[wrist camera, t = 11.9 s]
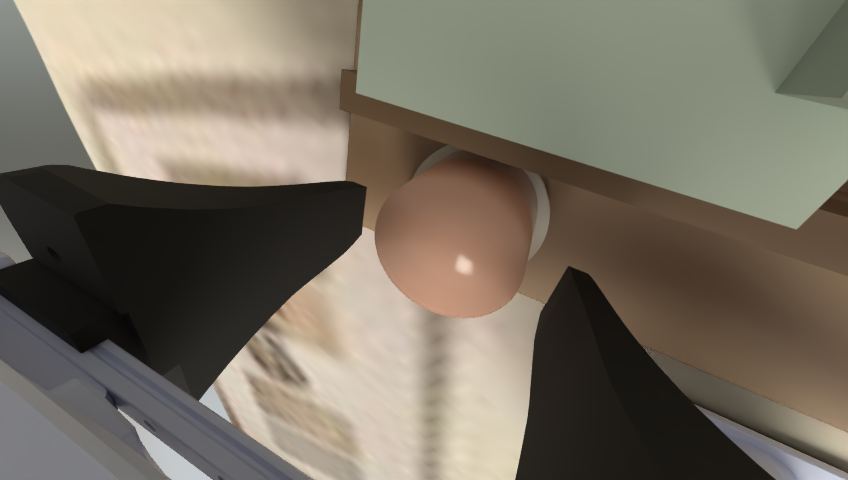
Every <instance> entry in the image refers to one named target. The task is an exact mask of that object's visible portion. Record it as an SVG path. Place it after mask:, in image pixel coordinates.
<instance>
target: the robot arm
mask: <svg viewBox="0 0 848 480" xmlns="http://www.w3.org/2000/svg"><path fill="white" fill-rule="evenodd" d="M366 191H367V187H366V186H363V185H361V184H358V183H356V182H353V181H333V182H320V183H308V184H296V185H280V186H260V187H232V186H211V185H197V184H183V183H174V182H165V181H157V180H150V179H143V178H136V177H129V176H123V175H118V174H112V173H107V172H101V171H96V170H90V169H85V168H80V167H75V166H70V165H45V166H39V167H34V168H28V169H23V170H17V171H12V172H6V173H0V205H1V206H2V208H3V210H4V212H5V214H6V215H7V217H8V219H9V220H10V222H11V223H12V225H13V227H14V228H15V230H16V231H17V233H18V235H19V237H20V238H21V240H22V242H23V243H24V244H25V246H26V248H27V250H28V251H29V253H30V255H31V256H32V257H33V259H30V260H27V261H24V262H21V263H18V264H16V263H15V262H14V261H13V260H12V259H11V257H10V256H8V255H7V254H6V253H5V252H3V251H2V250H0V480H171V479H170V478H169V477H167V476H166V475H165V474H164V473H163V471H162V470H161V469H160V468H159V466H158V465H157V464H156V462H155V461H154V460H153V459H152V457H151V456H150V455H149V453H148V451H147V450H146V448H145V447H144V446H143V444H142V442H141V441H140V439H139V436H138V434H137V432H136V429H135V427H134V426H133V425H132V424H131V423H130V422H129V421H128V420H127V419H126V418H125V417H124V416H123V415H122V414H121V413H120V412H119V411H118V408H119V409H120V410H121V411H123V412H124V413H125V414H127V415H128V416H129V417H131V418H132V419H133V420H135V421H136V422H137V423H139V424H140V425H141V426H143V427H144V428H145V429H146V430H148V431H149V432H150V433H152V434H153V435H155V436H156V437H157V438H158V439H160V440H161V441H162V442H164V443H165V444H166V445H168V446H169V447H170V448H172V449H173V450H174V451H176V452H177V453H178V454H180V455H181V456H182V457H184V458H185V459H186V460H188V461H189V462H190V463H191V464H193V465H194V466H195V467H197V468H198V469H199V470H201V471H202V472H203V473H205V474H206V475H207V476H209V477H210V478H211V479H213V480H313V479H311V478H310V477H308V476H307V475H305V474H304V473H303V472H301V471H300V470H298V469H297V468H295V467H294V466H292V465H291V464H289V463H288V462H286V461H285V460H284V459H282V458H281V457H279V456H278V455H276V454H275V453H273V452H272V451H270V450H269V449H268V448H266V447H265V446H263V445H262V444H260V443H259V442H257V441H256V440H254V439H253V438H251V437H250V436H249V435H247V434H246V433H244V432H243V431H241V430H240V429H238V428H237V427H235V426H234V425H233V424H231V423H229V422H228V421H227V420H225V419H224V418H222V417H221V416H219V415H218V414H216V413H215V412H214V411H212V410H211V409H209V408H208V407H206V406H205V405H203V404H202V403H200V402H199V400H200V399H201V397H202V396H203V395H204V393H205V392H206V391H207V390H208V388H209V387H210V386H211V385H212V384H213V382H214V381H215V380H216V379H217V377H218V376H219V375H220V374H221V372H222V371H223V370H224V369H225V368H226V366H227V365H228V364H229V363H230V362H231V360H232V359H233V358H234V357H235V356H236V355H237V354H238V352H239V351H240V350H241V349H242V348H243V347H244V346H245V344H246V343H247V342H248V341H249V340H250V339H251V338H252V337H253V335H254V334H255V333H256V332H257V331H258V330H259V329H260V328H261V327H262V326H263V325H264V324H265V323H266V322H267V321H268V319H269V318H270V317H271V316H272V315H273V314H274V313H275V312H276V311H277V310H278V309H279V308H280V307H281V306H282V305H283V304H284V303H285V302H286V301H287V300H288V299H289V298H290V297H291V296H292V295H294V294H295V293H296V292H297V291H298V290H299V289H300V288H302V287H303V286H304V285H305V284H307V283H308V282H309V281H310V280H312V279H313V278H314V277H315V276H317V275H318V274H319V273H320V272H322V271H323V270H324V269H325V268H327V267H328V266H329V265H330V264H332V263H333V262H334V261H335V260H337V259H338V258H339V257H340V256H341V255H343V254H344V253H345V252H346V251H347V250H348V249H349V248H350V247H351V246H352V245H353V244H354V242H355V241H356V240H357V239H358V238H359V237H360V236H361V234H362V226H363V218H364V209H365V200H366ZM515 480H848V473H846V472H844V471H842V470H839V469H837V468H835V467H833V466H830V465H828V464H826V463H824V462H822V461H819V460H817V459H815V458H813V457H810V456H808V455H806V454H804V453H802V452H799V451H797V450H795V449H793V448H790V447H788V446H786V445H784V444H782V443H779V442H777V441H775V440H773V439H771V438H768V437H766V436H764V435H762V434H759V433H757V432H755V431H753V430H751V429H748V428H746V427H744V426H742V425H739V424H737V423H735V422H733V421H731V420H728V419H726V418H724V417H722V416H719V415H717V414H715V413H713V412H711V411H708V410H706V409H704V408H702V407H700V406H697V405H695V404H693V403H692V402H691V401H690V400H689V399H688V398H687V397H686V396H685V395H684V394H683V393H682V392H681V390H680V389H679V388H678V387H677V386H676V385H675V384H674V383H673V382H672V381H671V380H670V378H669V377H668V376H667V375H666V374H665V373H664V372H663V371H662V370H661V369H660V368H659V366H658V365H657V364H656V363H655V362H654V361H653V359H652V358H651V357H650V356H649V355H648V354H647V352H646V351H645V350H644V349H643V347H642V346H641V345H640V343H639V342H638V341H637V340H636V338H635V337H634V336H633V335H632V333H631V332H630V331H629V329H628V328H627V327H626V325H625V324H624V323H623V321H622V320H621V318H620V317H619V316H618V314H617V313H616V311H615V310H614V309H613V307H612V306H611V304H610V303H609V301H608V300H607V298H606V297H605V295H604V294H603V292H602V291H601V290H600V288H599V287H598V285H597V284H596V282H595V281H594V280H593V278H592V277H591V276H590V275H589V274H588V273H585V272H583V271H580V270H578V269H575V268H573V267H570V266H568V267H567V269H566V270H565V272H564V274H563V276H562V277H561V279H560V281H559V282H558V284H557V286H556V287H555V289H554V291H553V292H552V294H551V296H550V297H549V299H548V301H547V303H546V304H545V306H544V308H543V309H542V311H541V313H540V317H539V321H538V325H537V330H536V334H535V339H534V350H533V362H532V375H531V388H530V401H529V410H528V418H527V424H526V429H525V434H524V440H523V445H522V450H521V455H520V460H519V465H518V469H517V474H516V479H515Z"/></svg>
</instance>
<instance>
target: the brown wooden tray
mask: <svg viewBox="0 0 848 480" xmlns="http://www.w3.org/2000/svg"><path fill="white" fill-rule="evenodd" d="M362 6H363V0H359V4H358V18H357V32H356V46H355V60H354V70H344V69H342V74H341V93H340V109H341V110H344V111H347V112H350V113H351V116H350V130H349V144H348V158H347V173H346V181H353V182H356V183H358V184H361V185H363V186H366V187H367V191H366V200H365V209H364V218H363V226H364V227H366V228H368V229H371V230H373V231H375V226H376V220H377V217H378V214H379V211H380V209H381V207H382V205H383V204H384V203H385V201H386V200H387V198H388V197H389V196H390V195H391V194H392V193H393V192H394V191H396V190H397V189H399V188H400V187H401V186H403V185H404V184H406V183H407V182H409V181H410V180H412V179H413V178H415V177H416V176H418V175H419V174H421V173H422V172H424V171H425V170H427V169H428V168H430V167H431V166H433V165H434V164H436V163H437V162H439V161H440V160H442V159H443V158H445V157H446V156H448V155H450V154H452V153H454V152H457V151H460V150H465V151H468V152H471V153H475V154H478V155H481V156H484V157H487V158H490V159H493V160H496V161H499V162H502V163H505V164H508V165H511V166H514V167H517V168H520V169H523V170H524V171H525V173H526V174H527V175H528V177H529V178H530V180H531V182H532V184H533V186H534V188H535V192H536V195H537V202H538V214H537V219H536V224H535V229H534V233H533V238H532V243H531V247H530V252H529V256H528V261H527V265H526V270H525V275H524V278H523V281H522V284H521V286H520V288H519V289H518V291H517V292H519V293H521V294H523V295H526V296H528V297H530V298H533V299H535V300H538V301H540V302H542V303H545V304H546V303H547V301H548V299H549V297H550V296H551V294H552V292H553V291H554V289H555V287H556V286H557V284H558V282H559V281H560V279H561V277H562V276H563V274H564V272H565V270H566V269H567V267H568V266H570V267H573V268H575V269H578V270H580V271H583V272H585V273H588V274H589V275H590V276H591V277H592V278H593V280H594V281H595V282H596V284H597V285H598V287H599V288H600V290H601V291H602V292H603V294H604V295H605V297H606V298H607V300H608V301H609V303H610V304H611V306H612V307H613V309H614V310H615V311H616V313H617V314H618V316H619V317H620V318H621V320H622V321H623V323H624V324H625V325H626V327H627V328H628V329H629V331H630V332H631V333H632V335H633V336H634V337H635V338H636V340H637V341H638V342H639V343H640V344H641V345H643V346H646V347H648V348H650V349H653V350H655V351H657V352H660V353H662V354H664V355H667V356H669V357H671V358H674V359H676V360H679V361H681V362H683V363H686V364H688V365H690V366H693V367H695V368H697V369H700V370H702V371H704V372H707V373H709V374H711V375H714V376H716V377H718V378H721V379H723V380H726V381H728V382H730V383H733V384H735V385H737V386H740V387H742V388H744V389H747V390H749V391H751V392H754V393H756V394H758V395H761V396H763V397H765V398H768V399H770V400H773V401H775V402H777V403H780V404H782V405H784V406H787V407H789V408H791V409H794V410H796V411H798V412H801V413H803V414H805V415H808V416H810V417H812V418H815V419H817V420H820V421H822V422H824V423H827V424H829V425H831V426H834V427H836V428H838V429H841V430H843V431H845V432H848V180H847V181H846V182H845V183H844V184H843V185H842V186H841V187H840V188H839V189H838V190H837V191H836V192H835V193H834V194H833V195H832V196H831V197H830V198H829V199H827V200H826V201H825V202H824V203H823V204H822V205H821V206H820V207H819V208H818V209H817V210H816V211H815V212H814V213H813V214H812V215H811V216H810V217H809V218H808V219H807V220H806V221H805V222H804V223H803V224H802V225H801V226H800V227H799V228H798V229H793V228H790V227H787V226H784V225H780V224H777V223H774V222H771V221H767V220H764V219H761V218H758V217H755V216H751V215H748V214H745V213H742V212H738V211H735V210H732V209H729V208H726V207H722V206H719V205H716V204H713V203H709V202H706V201H703V200H700V199H696V198H693V197H690V196H687V195H684V194H680V193H677V192H674V191H671V190H667V189H664V188H661V187H658V186H655V185H651V184H648V183H645V182H642V181H638V180H635V179H632V178H629V177H625V176H622V175H619V174H616V173H613V172H609V171H606V170H603V169H600V168H596V167H593V166H590V165H587V164H584V163H580V162H577V161H574V160H571V159H567V158H564V157H561V156H558V155H554V154H551V153H548V152H545V151H542V150H538V149H535V148H532V147H529V146H525V145H522V144H519V143H516V142H513V141H509V140H506V139H503V138H500V137H496V136H493V135H490V134H487V133H483V132H480V131H477V130H474V129H471V128H467V127H464V126H461V125H458V124H454V123H451V122H448V121H445V120H442V119H438V118H435V117H432V116H429V115H425V114H422V113H419V112H416V111H413V110H409V109H406V108H403V107H400V106H396V105H393V104H390V103H387V102H383V101H380V100H377V99H374V98H371V97H367V96H364V95H361V94H358V93H356V83H357V70H358V57H359V45H360V32H361V19H362Z"/></svg>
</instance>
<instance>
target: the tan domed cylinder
mask: <svg viewBox="0 0 848 480" xmlns="http://www.w3.org/2000/svg"><path fill="white" fill-rule="evenodd" d="M537 214H538V202H537V195H536V192H535V188H534V186H533V184H532V182H531V180H530V178H529V177H528V175H527V174H526V173H525V171H524V170H523V169H520V168H517V167H514V166H511V165H508V164H505V163H502V162H499V161H496V160H493V159H490V158H487V157H484V156H481V155H478V154H475V153H471V152H468V151H465V150H460V151H457V152H454V153H452V154H450V155H448V156H446V157H445V158H443V159H442V160H440V161H439V162H437V163H436V164H434V165H433V166H431V167H430V168H428V169H427V170H425V171H424V172H422V173H421V174H419V175H418V176H416V177H415V178H413V179H412V180H410V181H409V182H407V183H406V184H404V185H403V186H401V187H400V188H399V189H397V190H396V191H394V192H393V193H392V194H391V195H390V196H389V197H388V198H387V200H386V201H385V203H384V204H383V205H382V207H381V209H380V211H379V214H378V217H377V220H376V226H375V245H376V249H377V254H378V257H379V259H380V262H381V264H382V266H383V268H384V270H385V272H386V274H387V275H388V277H389V278H390V279H391V281H392V282H393V283H394V285H395V286H396V287H397V288H398V289H399V290H400V291H401V292H402V293H403V294H404V295H405V296H407V297H408V298H409V299H411V300H412V301H413V302H415V303H416V304H418V305H420V306H421V307H423V308H425V309H427V310H429V311H432V312H435V313H437V314H441V315H444V316H449V317H455V318H474V317H479V316H484V315H487V314H490V313H492V312H494V311H496V310H498V309H500V308H501V307H503V306H504V305H506V304H507V303H508V302H509V301H510V300H511V299H512V298H513V297H514V295H515V294H516V293H517V291H518V289H519V288H520V286H521V284H522V281H523V278H524V275H525V270H526V265H527V261H528V256H529V252H530V247H531V243H532V238H533V233H534V229H535V224H536V219H537Z"/></svg>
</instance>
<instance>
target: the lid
mask: <svg viewBox="0 0 848 480" xmlns="http://www.w3.org/2000/svg"><path fill="white" fill-rule="evenodd" d="M356 93H358V94H361V95H364V96H367V97H371V98H374V99H377V100H380V101H383V102H387V103H390V104H393V105H396V106H400V107H403V108H406V109H409V110H413V111H416V112H419V113H422V114H425V115H429V116H432V117H435V118H438V119H442V120H445V121H448V122H451V123H454V124H458V125H461V126H464V127H467V128H471V129H474V130H477V131H480V132H483V133H487V134H490V135H493V136H496V137H500V138H503V139H506V140H509V141H513V142H516V143H519V144H522V145H525V146H529V147H532V148H535V149H538V150H542V151H545V152H548V153H551V154H554V155H558V156H561V157H564V158H567V159H571V160H574V161H577V162H580V163H584V164H587V165H590V166H593V167H596V168H600V169H603V170H606V171H609V172H613V173H616V174H619V175H622V176H625V177H629V178H632V179H635V180H638V181H642V182H645V183H648V184H651V185H655V186H658V187H661V188H664V189H667V190H671V191H674V192H677V193H680V194H684V195H687V196H690V197H693V198H696V199H700V200H703V201H706V202H709V203H713V204H716V205H719V206H722V207H726V208H729V209H732V210H735V211H738V212H742V213H745V214H748V215H751V216H755V217H758V218H761V219H764V220H767V221H771V222H774V223H777V224H780V225H784V226H787V227H790V228H793V229H798V228H799V227H800V226H801V225H802V224H803V223H804V222H805V221H806V220H807V219H808V218H809V217H810V216H811V215H812V214H813V213H814V212H815V211H816V210H817V209H818V208H819V207H820V206H821V205H822V204H823V203H824V202H825V201H826V200H827V199H829V198H830V197H831V196H832V195H833V194H834V193H835V192H836V191H837V190H838V189H839V188H840V187H841V186H842V185H843V184H844V183H845V182H846V181H847V180H848V0H363V6H362V19H361V32H360V45H359V57H358V70H357V83H356Z"/></svg>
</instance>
